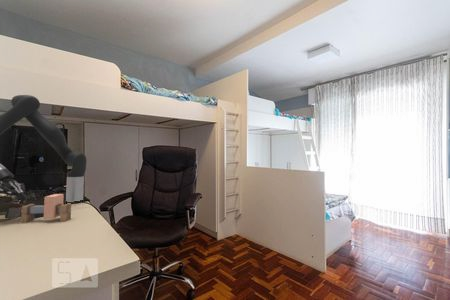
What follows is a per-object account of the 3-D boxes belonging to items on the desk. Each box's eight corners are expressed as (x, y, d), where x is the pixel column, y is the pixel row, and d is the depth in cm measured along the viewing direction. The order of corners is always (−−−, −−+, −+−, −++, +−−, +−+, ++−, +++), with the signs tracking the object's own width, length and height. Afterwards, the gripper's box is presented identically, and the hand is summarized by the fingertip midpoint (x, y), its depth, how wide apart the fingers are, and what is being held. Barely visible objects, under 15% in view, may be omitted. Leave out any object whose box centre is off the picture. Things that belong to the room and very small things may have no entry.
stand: (29, 219, 100) (30, 204, 100) (70, 218, 103) (71, 203, 103) (21, 223, 95) (21, 206, 95) (64, 221, 98) (65, 205, 98)
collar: (53, 214, 103) (54, 194, 103) (62, 214, 103) (63, 194, 104) (43, 218, 96) (44, 196, 96) (53, 218, 96) (54, 196, 97)
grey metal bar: (30, 212, 99) (31, 205, 100) (67, 211, 102) (68, 204, 102) (25, 214, 96) (25, 206, 96) (63, 213, 99) (63, 206, 99)
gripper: (-10, 168, 90) (20, 196, 92) (15, 167, 103) (42, 192, 105) (-25, 181, 89) (6, 209, 91) (2, 178, 102) (29, 202, 104)
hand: (25, 200), depth 98 cm, fingers closed
